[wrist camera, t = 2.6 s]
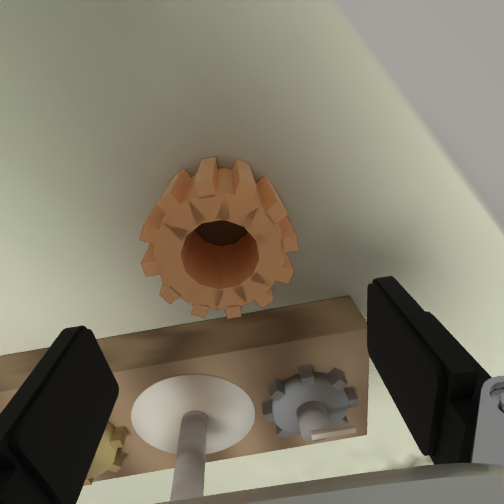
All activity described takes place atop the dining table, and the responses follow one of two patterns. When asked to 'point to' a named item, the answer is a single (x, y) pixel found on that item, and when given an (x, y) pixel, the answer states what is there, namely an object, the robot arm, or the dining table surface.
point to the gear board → (225, 389)
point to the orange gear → (213, 256)
